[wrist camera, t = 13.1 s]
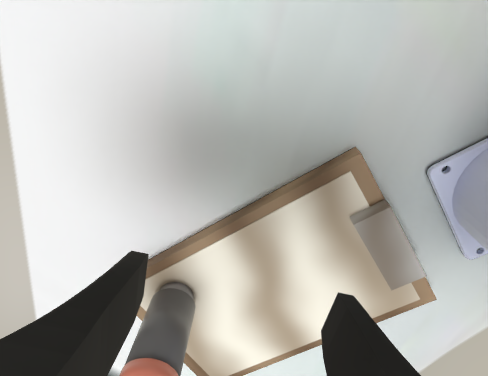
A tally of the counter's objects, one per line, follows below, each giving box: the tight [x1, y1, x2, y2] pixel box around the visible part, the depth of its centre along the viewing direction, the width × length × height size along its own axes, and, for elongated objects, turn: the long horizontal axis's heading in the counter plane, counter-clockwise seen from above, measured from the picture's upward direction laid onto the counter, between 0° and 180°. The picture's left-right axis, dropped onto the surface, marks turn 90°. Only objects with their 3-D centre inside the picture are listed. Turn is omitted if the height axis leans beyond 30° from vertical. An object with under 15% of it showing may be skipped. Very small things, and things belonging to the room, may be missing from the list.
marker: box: [120, 282, 196, 376], centre depth 21 cm, size 3×3×8 cm
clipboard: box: [137, 147, 436, 376], centre depth 24 cm, size 20×13×2 cm, turn 123°
